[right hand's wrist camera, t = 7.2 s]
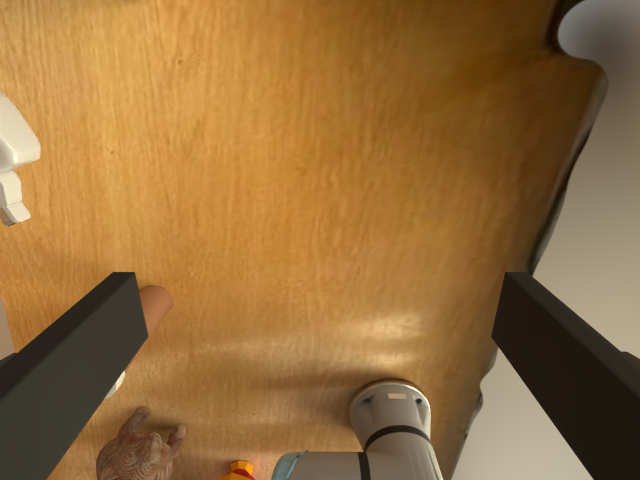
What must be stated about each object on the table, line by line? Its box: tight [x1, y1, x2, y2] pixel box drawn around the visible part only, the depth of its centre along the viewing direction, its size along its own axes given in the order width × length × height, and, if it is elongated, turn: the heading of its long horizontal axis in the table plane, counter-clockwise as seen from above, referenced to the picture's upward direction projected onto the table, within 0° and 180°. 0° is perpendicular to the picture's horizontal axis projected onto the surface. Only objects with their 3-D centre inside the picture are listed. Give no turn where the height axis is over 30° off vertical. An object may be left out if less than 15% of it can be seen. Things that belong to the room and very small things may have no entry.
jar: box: [125, 286, 173, 373], centre depth 52 cm, size 6×6×18 cm
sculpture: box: [96, 407, 186, 480], centre depth 64 cm, size 14×25×15 cm, turn 153°
